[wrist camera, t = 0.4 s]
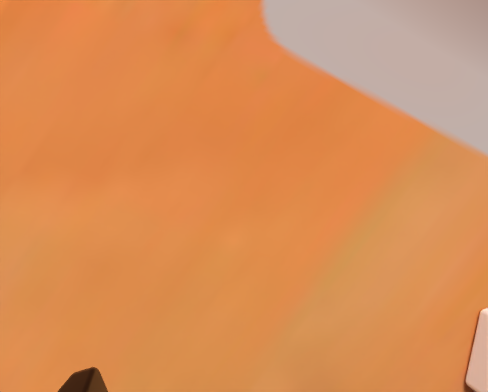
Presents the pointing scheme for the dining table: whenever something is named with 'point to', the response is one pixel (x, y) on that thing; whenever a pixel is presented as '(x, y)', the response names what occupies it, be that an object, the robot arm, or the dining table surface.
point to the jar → (479, 356)
